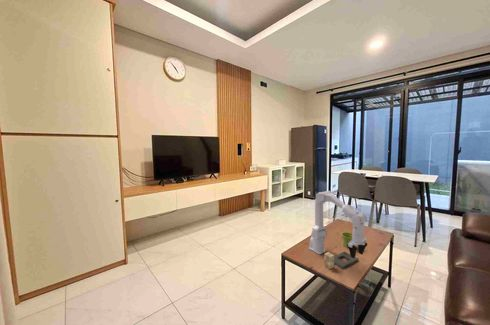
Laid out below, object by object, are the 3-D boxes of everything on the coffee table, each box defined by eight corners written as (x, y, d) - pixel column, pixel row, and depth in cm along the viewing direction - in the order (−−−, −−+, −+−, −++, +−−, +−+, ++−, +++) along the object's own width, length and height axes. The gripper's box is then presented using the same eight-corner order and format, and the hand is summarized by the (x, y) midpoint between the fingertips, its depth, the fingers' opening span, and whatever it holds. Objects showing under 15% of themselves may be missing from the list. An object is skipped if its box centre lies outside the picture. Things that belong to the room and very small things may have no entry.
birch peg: (324, 265, 129) (324, 253, 128) (328, 263, 131) (328, 252, 130) (329, 269, 126) (330, 256, 125) (333, 267, 128) (334, 255, 127)
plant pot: (356, 245, 154) (356, 234, 153) (352, 250, 147) (353, 239, 146) (343, 241, 160) (343, 230, 159) (339, 246, 153) (339, 235, 152)
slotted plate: (328, 260, 134) (328, 258, 134) (344, 253, 143) (344, 251, 143) (342, 269, 126) (342, 266, 126) (358, 260, 134) (358, 258, 134)
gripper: (356, 239, 114) (355, 262, 115) (372, 233, 121) (370, 255, 122) (345, 234, 120) (344, 256, 122) (360, 229, 127) (359, 250, 129)
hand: (356, 255), depth 122 cm, fingers open, 7 cm apart
